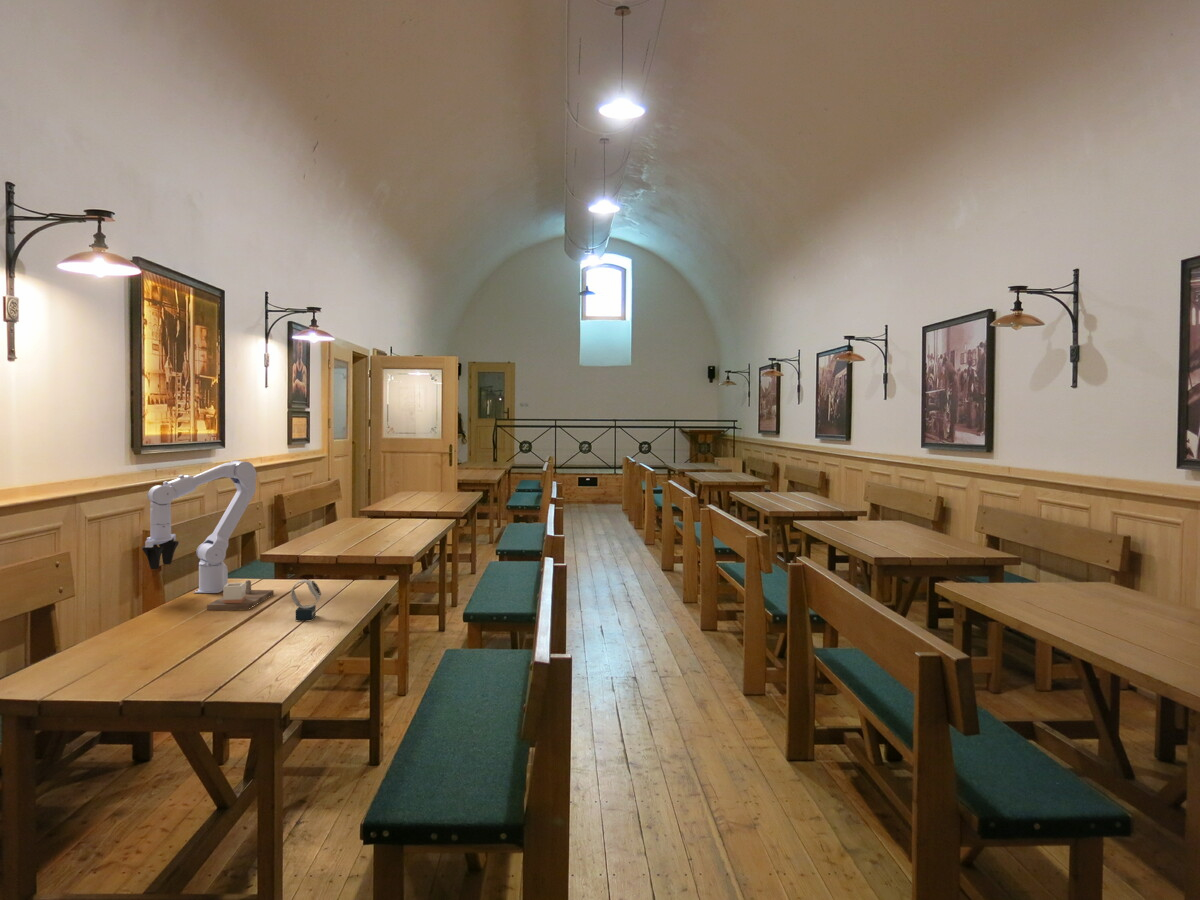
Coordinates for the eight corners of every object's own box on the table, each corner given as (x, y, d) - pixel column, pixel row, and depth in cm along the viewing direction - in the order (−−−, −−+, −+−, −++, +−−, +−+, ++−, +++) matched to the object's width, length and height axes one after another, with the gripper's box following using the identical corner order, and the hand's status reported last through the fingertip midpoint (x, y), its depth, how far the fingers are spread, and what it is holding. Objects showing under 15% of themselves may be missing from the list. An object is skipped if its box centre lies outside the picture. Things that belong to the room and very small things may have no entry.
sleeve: (228, 599, 237) (228, 583, 237) (245, 598, 238) (245, 582, 238) (223, 603, 232) (223, 586, 232) (241, 602, 233) (241, 586, 233)
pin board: (235, 594, 250) (235, 576, 250) (273, 594, 250) (273, 576, 250) (207, 609, 230) (207, 590, 230) (248, 610, 230) (248, 590, 230)
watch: (318, 620, 220) (318, 582, 220) (289, 621, 219) (289, 582, 218) (322, 615, 226) (322, 578, 225) (293, 616, 224) (293, 578, 224)
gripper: (159, 520, 250) (160, 562, 251) (134, 526, 235) (135, 570, 236) (182, 520, 250) (182, 562, 251) (158, 527, 236) (158, 571, 236)
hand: (161, 566), depth 243 cm, fingers open, 7 cm apart
